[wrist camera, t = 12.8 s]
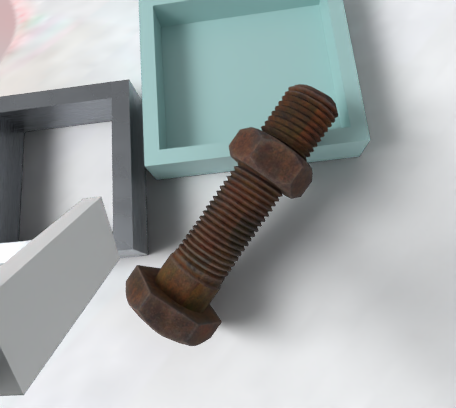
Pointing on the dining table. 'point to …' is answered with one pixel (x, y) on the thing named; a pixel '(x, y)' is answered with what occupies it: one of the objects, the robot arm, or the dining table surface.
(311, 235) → the dining table surface
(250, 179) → the bolt
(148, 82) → the tray
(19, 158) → the square frame
